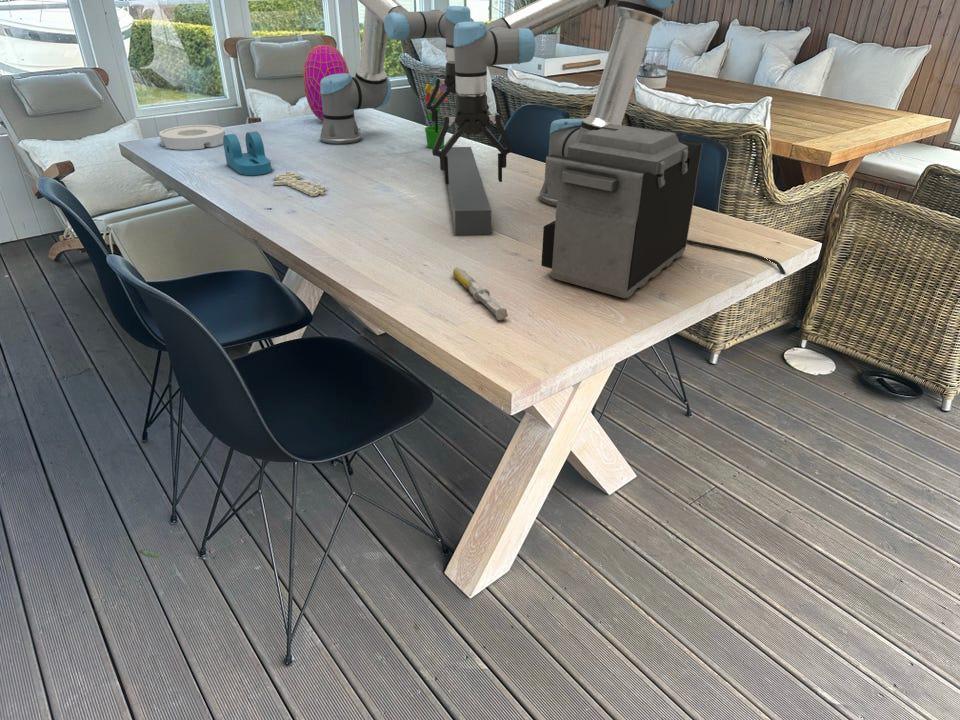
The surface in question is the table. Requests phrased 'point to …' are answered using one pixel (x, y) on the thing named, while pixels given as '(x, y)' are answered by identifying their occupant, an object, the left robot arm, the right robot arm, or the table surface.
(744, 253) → the right robot arm
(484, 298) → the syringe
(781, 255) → the table surface
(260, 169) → the camera mount
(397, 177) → the table surface
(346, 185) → the table surface
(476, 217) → the thick board
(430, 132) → the potted flower
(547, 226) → the dark grey storage case
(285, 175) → the decorative sign
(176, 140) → the ashtray
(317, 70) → the decorative egg
